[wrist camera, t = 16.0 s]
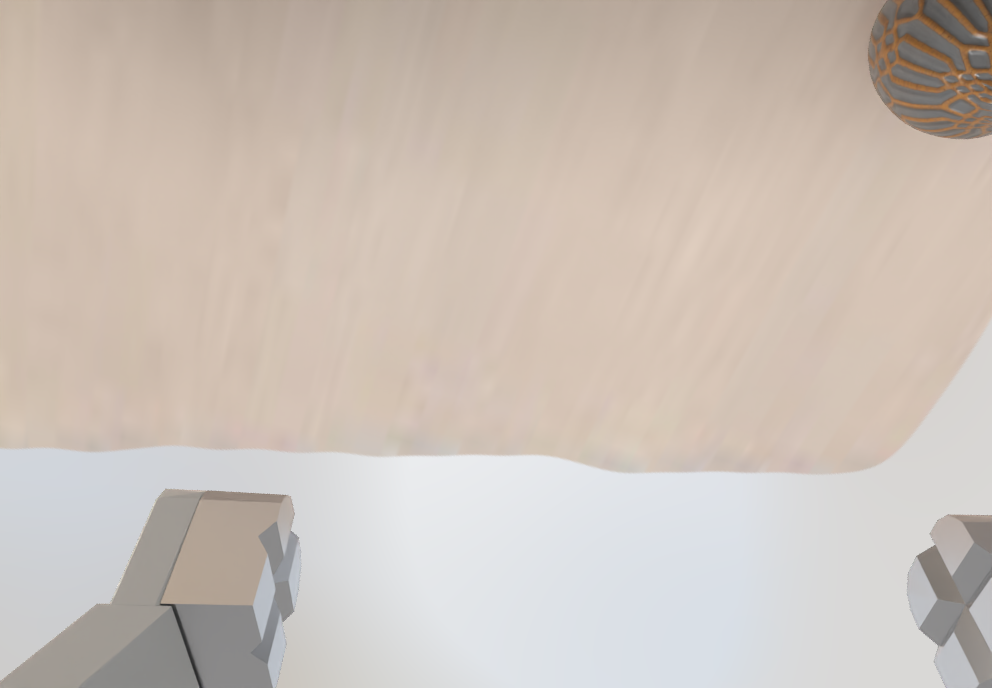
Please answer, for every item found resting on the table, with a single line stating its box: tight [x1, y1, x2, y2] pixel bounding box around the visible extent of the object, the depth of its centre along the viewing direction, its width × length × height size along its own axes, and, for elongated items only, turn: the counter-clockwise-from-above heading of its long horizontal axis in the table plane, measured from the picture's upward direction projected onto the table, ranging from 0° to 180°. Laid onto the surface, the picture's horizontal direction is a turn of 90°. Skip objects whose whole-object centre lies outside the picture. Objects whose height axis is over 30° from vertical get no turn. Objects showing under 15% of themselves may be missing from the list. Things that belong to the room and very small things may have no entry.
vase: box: [868, 0, 992, 139], centre depth 33 cm, size 7×7×9 cm
